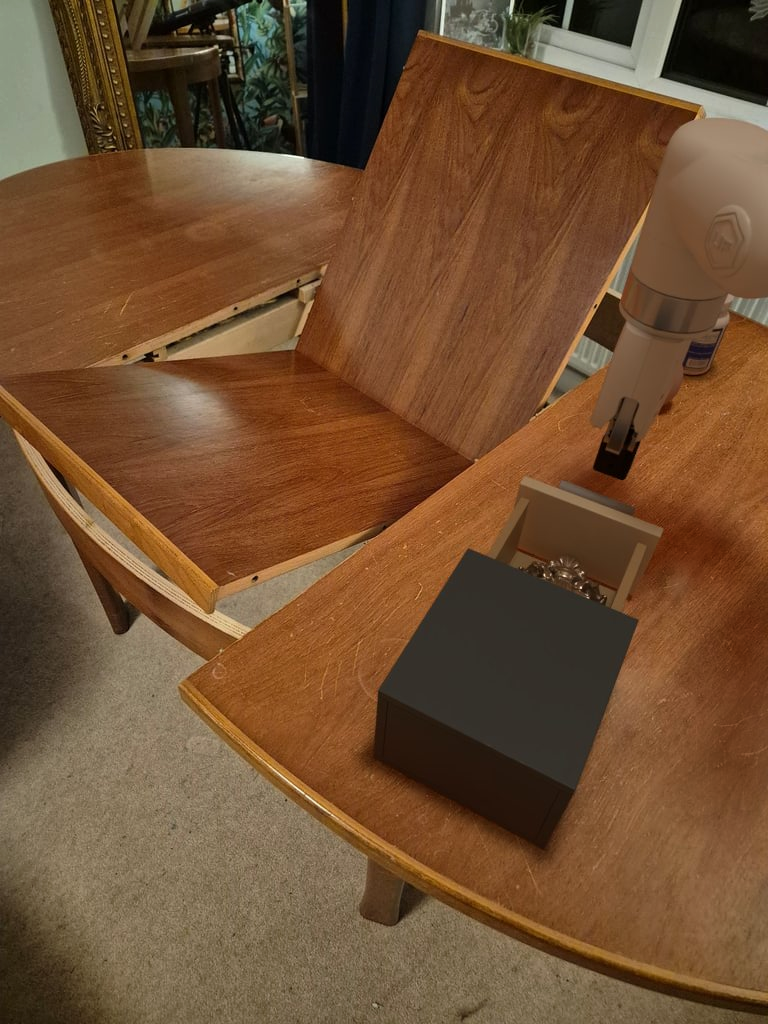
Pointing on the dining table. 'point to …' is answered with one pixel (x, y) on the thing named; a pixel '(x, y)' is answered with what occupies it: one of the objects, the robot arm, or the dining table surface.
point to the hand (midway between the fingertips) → (610, 470)
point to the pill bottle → (707, 344)
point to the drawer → (579, 535)
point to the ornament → (567, 577)
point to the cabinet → (502, 694)
